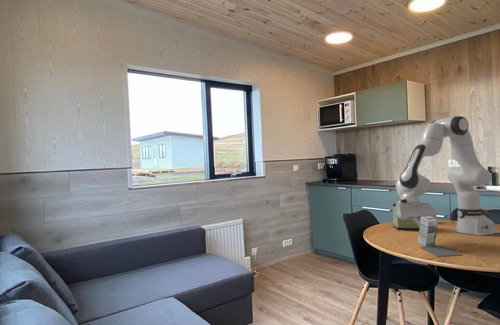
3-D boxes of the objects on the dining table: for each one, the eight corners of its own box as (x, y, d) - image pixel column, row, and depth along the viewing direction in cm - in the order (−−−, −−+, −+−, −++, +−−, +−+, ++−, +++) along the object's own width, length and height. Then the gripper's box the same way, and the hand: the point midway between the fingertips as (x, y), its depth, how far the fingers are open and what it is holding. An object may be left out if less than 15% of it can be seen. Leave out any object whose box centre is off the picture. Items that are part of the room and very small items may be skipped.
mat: (441, 246, 164) (441, 245, 164) (462, 255, 149) (462, 254, 149) (419, 247, 163) (419, 246, 163) (438, 256, 148) (437, 256, 148)
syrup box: (425, 247, 164) (428, 221, 161) (417, 241, 170) (420, 216, 166) (434, 245, 165) (438, 220, 162) (426, 240, 171) (430, 215, 167)
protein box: (423, 230, 198) (423, 205, 198) (397, 230, 201) (396, 205, 201) (418, 226, 209) (417, 203, 208) (392, 226, 211) (392, 203, 211)
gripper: (427, 206, 181) (438, 227, 171) (392, 207, 180) (401, 228, 170) (432, 199, 176) (444, 220, 166) (396, 200, 175) (406, 221, 166)
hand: (422, 224), depth 168 cm, fingers closed
